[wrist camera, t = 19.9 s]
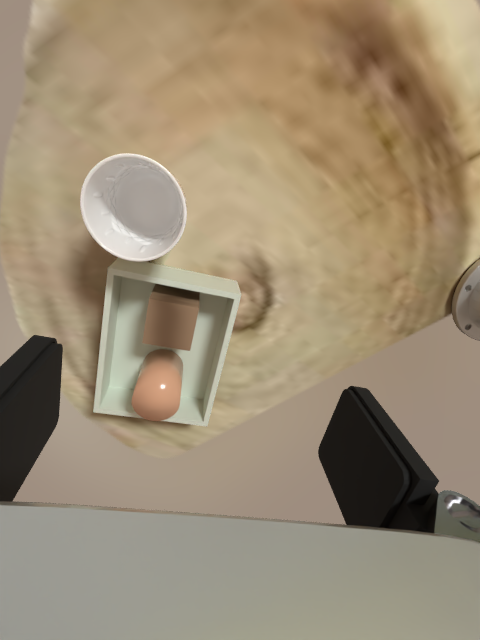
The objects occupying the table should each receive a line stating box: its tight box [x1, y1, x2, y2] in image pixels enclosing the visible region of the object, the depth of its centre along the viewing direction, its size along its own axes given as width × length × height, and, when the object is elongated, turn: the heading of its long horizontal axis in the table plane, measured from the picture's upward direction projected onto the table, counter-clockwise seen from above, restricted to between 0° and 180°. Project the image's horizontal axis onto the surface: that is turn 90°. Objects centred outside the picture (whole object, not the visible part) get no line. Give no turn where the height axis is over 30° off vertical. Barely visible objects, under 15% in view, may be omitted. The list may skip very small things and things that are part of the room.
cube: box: [142, 284, 200, 351], centre depth 37 cm, size 5×5×5 cm
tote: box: [93, 257, 241, 426], centre depth 39 cm, size 13×17×5 cm
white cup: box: [80, 153, 187, 262], centre depth 30 cm, size 8×8×10 cm
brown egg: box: [132, 349, 183, 421], centre depth 39 cm, size 5×5×7 cm
